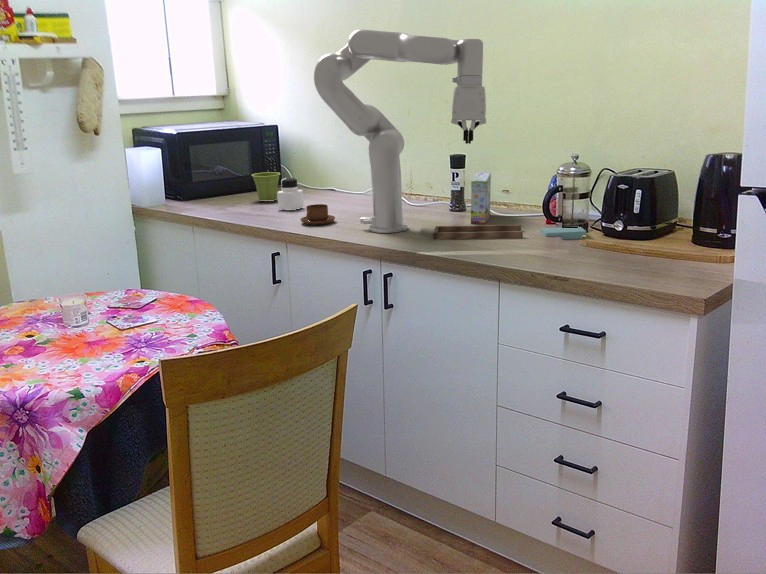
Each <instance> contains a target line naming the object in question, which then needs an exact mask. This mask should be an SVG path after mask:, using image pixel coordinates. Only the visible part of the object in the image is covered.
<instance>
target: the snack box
mask: <svg viewBox="0 0 766 574" xmlns="http://www.w3.org/2000/svg"><path fill="white" fill-rule="evenodd" d="M491 177H492V172H476V173H475V175H474V176H473V178H472V179H471V182H470V183H471V184H470V185H471V187H470V191H471V192H470V225H487V223H488V221H489V219H490V216H491V187H492V186H491V185H492V184H491V183H492V182H491V181H492V180H491V179H492V178H491Z"/></svg>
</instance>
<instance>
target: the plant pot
mask: <svg viewBox="0 0 766 574" xmlns="http://www.w3.org/2000/svg"><path fill="white" fill-rule="evenodd" d="M280 176H281V173H280V172H275V171H273V172H272V171H271V172H269V171H267V172H266V171H265V172H258V173H256V172H255V173H253V174H251V177H252V178H253V182H254V185H255V187H256V188H255V189H256V192H257V198H258V201H259V200H275V199H277V200H278V197H277V192H279V191H278V190H279V179H280Z"/></svg>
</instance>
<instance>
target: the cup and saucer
mask: <svg viewBox="0 0 766 574" xmlns="http://www.w3.org/2000/svg"><path fill="white" fill-rule="evenodd" d="M305 207H306V216H303V217H301V218H300V222H302V223H303V224H305V225H309V224H311V225H310V226H319V225H318V224H322V225H327V224H330V223H332V222H334V221H335V219H336V216H334V215H329V209H328V204H321V203H317V204H309V205H307V206H305ZM308 220H309V221H310V222H309V221H308ZM326 223H327V224H326Z"/></svg>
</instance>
